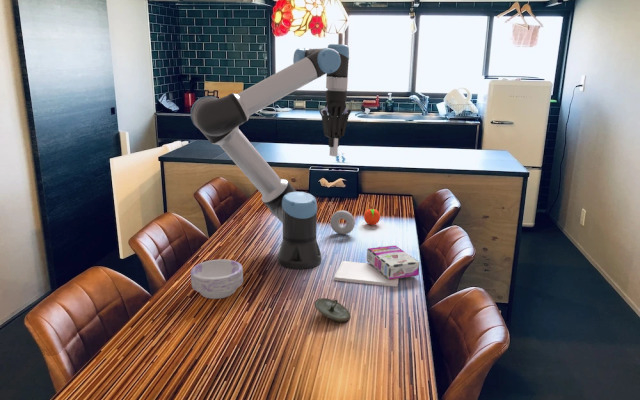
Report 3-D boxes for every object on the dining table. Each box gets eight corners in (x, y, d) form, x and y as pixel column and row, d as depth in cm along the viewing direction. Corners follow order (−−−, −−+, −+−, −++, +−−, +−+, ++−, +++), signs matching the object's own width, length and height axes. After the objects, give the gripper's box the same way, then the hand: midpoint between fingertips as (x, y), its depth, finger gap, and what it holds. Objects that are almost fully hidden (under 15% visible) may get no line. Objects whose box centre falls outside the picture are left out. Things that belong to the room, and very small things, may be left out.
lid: (314, 307, 144) (314, 291, 143) (349, 307, 144) (349, 291, 143) (313, 326, 134) (314, 308, 132) (351, 326, 134) (351, 309, 132)
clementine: (380, 228, 212) (381, 211, 210) (364, 227, 212) (364, 211, 210) (379, 222, 220) (379, 206, 218) (363, 221, 220) (363, 206, 218)
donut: (355, 234, 204) (356, 210, 202) (353, 236, 201) (354, 212, 199) (331, 231, 207) (331, 208, 204) (329, 234, 204) (329, 210, 201)
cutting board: (342, 263, 175) (342, 260, 174) (400, 269, 170) (400, 266, 170) (334, 280, 162) (334, 277, 161) (397, 286, 157) (397, 283, 157)
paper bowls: (188, 286, 156) (186, 262, 154) (236, 278, 162) (235, 255, 160) (196, 308, 143) (195, 282, 140) (249, 298, 148) (248, 273, 146)
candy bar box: (366, 261, 174) (388, 280, 159) (366, 248, 173) (389, 265, 158) (395, 258, 178) (419, 276, 163) (396, 244, 177) (420, 261, 162)
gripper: (344, 89, 186) (340, 153, 192) (315, 89, 179) (312, 155, 184) (357, 90, 180) (353, 156, 186) (328, 90, 173) (325, 158, 179)
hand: (333, 155), depth 185 cm, fingers closed
